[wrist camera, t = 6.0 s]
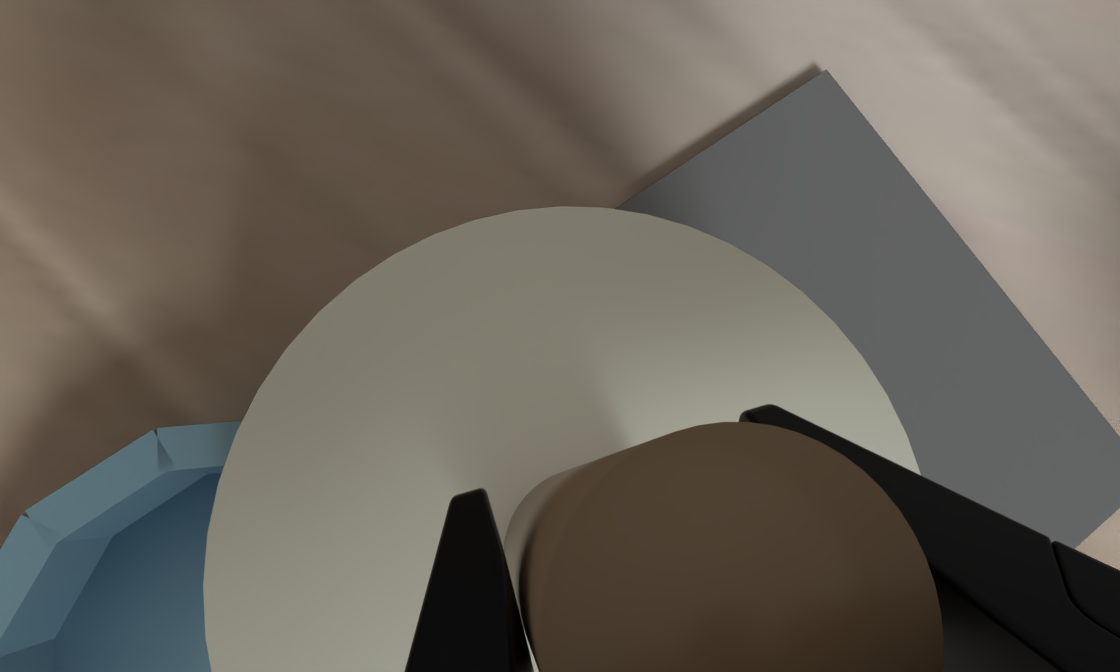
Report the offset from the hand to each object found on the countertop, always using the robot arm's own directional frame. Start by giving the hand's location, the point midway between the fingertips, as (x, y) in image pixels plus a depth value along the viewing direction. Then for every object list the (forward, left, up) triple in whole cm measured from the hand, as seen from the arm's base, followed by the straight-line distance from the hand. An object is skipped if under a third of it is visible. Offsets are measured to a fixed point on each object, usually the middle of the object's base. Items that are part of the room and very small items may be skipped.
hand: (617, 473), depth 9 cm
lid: (-1, 0, -7) cm, 7 cm away
